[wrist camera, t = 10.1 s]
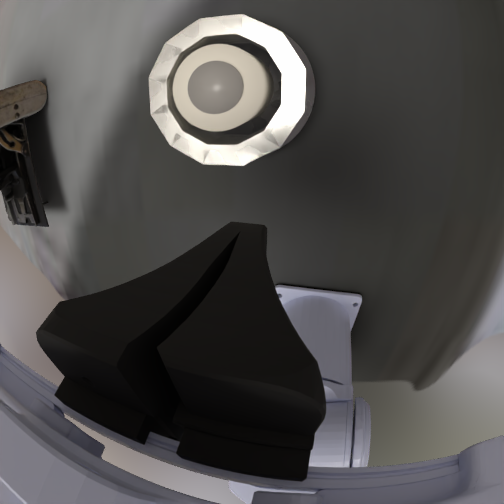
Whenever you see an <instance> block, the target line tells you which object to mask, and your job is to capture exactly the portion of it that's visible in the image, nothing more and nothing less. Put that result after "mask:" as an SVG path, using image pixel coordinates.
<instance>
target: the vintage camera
mask: <svg viewBox="0 0 504 504" xmlns="http://www.w3.org/2000/svg"><path fill="white" fill-rule="evenodd" d="M46 100H47V91H46V86H45V85H44V84H43V83H42V82H40V81H37V80H34V81H29V82H25V83H22V84H18V85H15V86H12V87H9V88H6V89H3V90H0V190H1V191H2V195H3V199H4V203H5V208H6V212H7V214H8V218H9V220H10V221H12V223H13V225H15V224H18V225H29V226H36V227H37V226H43V227H49V225H48V221H47V218H46V214H45V211H44V207H43V205H44V204H46V203H48V202H45V203H42V200H41V196H40V192H39V188H38V184H37V180H36V175H35V171H34V167H33V163H32V159H31V154H30V149H29V143H28V137H27V130H26V125H25V119H24V118H26V117H29V116H31V115H33V114H35V113H37V112H38V111H40V110H41V109H42V108H43V106H44V105H45V103H46Z"/></svg>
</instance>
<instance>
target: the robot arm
mask: <svg viewBox="0 0 504 504" xmlns="http://www.w3.org/2000/svg"><path fill="white" fill-rule="evenodd" d="M266 247H267V228H266V226H265V225H259V224H249V223H239V222H230V223H228V224H227V225H225V226H224V227H223V228H221V229H220V230H218V231H217V232H216V233H214V234H213V235H211V236H210V237H208V238H207V239H206V240H204V241H203V242H201V243H200V244H198V245H197V246H195V247H194V248H192V249H191V250H189V251H187V252H186V253H184V254H183V255H181V256H180V257H178V258H176V259H175V260H173V261H171V262H169V263H167V264H166V265H164V266H162V267H160V268H158V269H156V270H154V271H152V272H150V273H148V274H145V275H143V276H141V277H138V278H136V279H134V280H131V281H129V282H127V283H124V284H121V285H119V286H116V287H113V288H110V289H107V290H104V291H101V292H98V293H94V294H91V295H87V296H83V297H78V298H74V299H70V300H66V301H61V302H59V303H58V304H57V306H56V307H55V308H54V309H53V311H52V312H51V313H50V314H49V316H48V317H47V318H46V320H45V321H44V322H43V324H42V325H41V326H40V328H39V329H38V330H37V332H36V335H37V341H38V343H39V344H40V346H41V348H42V349H43V351H44V352H45V353H46V355H47V356H48V357H49V358H50V360H51V361H52V362H53V363H54V365H55V366H56V367H57V368H58V369H59V370H60V371H61V373H62V374H63V375H64V376H65V377H64V379H63V381H62V383H61V384H60V386H59V387H58V386H56V385H55V384H53V383H52V382H50V381H48V380H47V379H45V378H44V377H42V376H41V375H39V374H38V373H36V372H35V371H33V370H32V369H31V368H29V367H28V366H27V365H25V364H24V363H22V362H21V361H20V360H18V359H17V358H16V357H14V356H13V355H12V354H10V353H9V352H8V351H7V350H5V349H4V348H3V347H2V346H1V344H0V504H219V503H215V502H210V501H207V500H203V499H199V498H196V497H192V496H189V495H186V494H183V493H180V492H177V491H174V490H171V489H168V488H165V487H162V486H160V485H157V484H155V483H152V482H150V481H147V480H145V479H143V478H140V477H138V476H136V475H133V474H131V473H129V472H127V471H125V470H123V469H120V468H118V467H116V466H114V465H112V464H110V463H109V462H107V461H105V460H103V459H102V457H101V455H102V453H103V451H104V448H105V447H104V445H103V444H101V443H100V442H98V441H97V440H95V439H94V438H92V437H91V436H89V435H88V434H86V433H85V432H83V431H82V430H81V429H79V428H78V427H77V426H76V425H74V424H73V423H72V422H70V421H69V420H68V419H66V418H65V417H64V413H65V414H66V415H68V416H70V417H71V418H73V419H75V420H76V421H78V422H80V423H81V424H83V425H85V426H87V427H88V428H90V429H92V430H94V431H96V432H98V433H99V434H101V435H103V436H105V437H107V438H109V439H111V440H114V441H116V442H117V443H120V444H122V445H124V446H126V447H128V448H131V449H133V450H135V451H138V452H140V453H142V454H145V455H147V456H150V457H152V458H155V459H158V460H160V461H163V462H166V463H169V464H172V465H174V466H177V467H180V468H184V469H187V470H190V471H194V472H197V473H201V474H204V475H208V476H212V477H216V478H220V479H224V480H228V482H229V489H230V491H231V492H233V493H234V494H235V495H236V496H237V497H238V498H239V499H241V500H242V501H243V502H244V503H246V504H504V436H499V437H496V438H493V439H489V440H486V441H483V442H480V443H477V444H475V445H473V446H470V447H469V448H467V449H465V450H463V451H462V452H460V454H457V455H453V456H448V457H444V458H438V459H434V460H428V461H422V462H415V463H408V464H399V465H390V466H377V467H367V464H368V459H369V450H370V435H371V416H370V415H371V414H370V406H369V404H368V403H367V402H366V401H364V399H363V398H362V397H359V398H355V409H354V417H353V385H352V362H351V333H350V332H351V330H352V327H353V324H354V322H355V319H356V316H357V314H358V311H359V308H360V305H361V302H362V296H361V295H360V294H353V293H344V292H335V291H326V290H318V289H309V288H301V287H293V286H285V285H277V286H276V287H275V286H274V283H273V280H272V277H271V274H270V270H269V266H268V262H267V257H266ZM278 294H281V295H278ZM353 303H356V304H353ZM350 457H351V459H350Z"/></svg>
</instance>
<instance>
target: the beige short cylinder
mask: <svg viewBox="0 0 504 504" xmlns="http://www.w3.org/2000/svg"><path fill="white" fill-rule="evenodd" d="M273 92H274V81H273V77H272V74H271V72H270V70H269V68H268V67H267V66H266V64H265V63H264V62H263V61H261V60H260V59H259V58H257V57H255V56H253V55H252V54H250V53H248V52H246V51H244V50H242V49H240V48H238V47H235V46H232V45H227V44H212V45H207V46H204V47H202V48H199V49H197V50H195V51H194V52H192V53H191V54H190V55H188V56H187V57H186V58H185V59H184V60H183V62H182V63H181V64H180V66H179V68H178V69H177V72H176V74H175V77H174V81H173V97H174V101H175V104H176V107H177V109H178V110H179V112H180V113H181V115H182V116H183V117H184V118H185V119H186V120H187V121H188V122H189V123H191V124H192V125H194V126H196V127H198V128H200V129H203V130H207V131H216V132H217V131H226V130H230V129H233V128H235V127H237V126H239V125H241V124H243V123H245V122H247V121H249V120H251V119H253V118H255V117H257V116H258V115H260V114H261V113H262V112H263V111H264V110H265V109H266V108H267V106H268V105H269V103H270V101H271V99H272V96H273Z"/></svg>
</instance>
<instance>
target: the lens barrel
mask: <svg viewBox="0 0 504 504" xmlns="http://www.w3.org/2000/svg"><path fill="white" fill-rule="evenodd" d="M212 44H227V45H232V46H235V47H238V48H240V49H242V50H244V51H246V52H248V53H250V54H252V55H253V56H255V57H257V58H259V59H260V60H261V61H263V62H264V63H265V64H266V66H267V67H268V68H269V70H270V72H271V74H272V77H273V81H274V92H273V96H272V99H271V101H270V103H269V105H268V106H267V108H266V109H265V110H264V111H263V112H262V113H261V114H260V115H258V116H257V117H255V118H253V119H251V120H249V121H247V122H245V123H243V124H241V125H239V126H237V127H235V128H233V129H230V130H226V131H217V132H216V131H207V130H203V129H200V128H198V127H196V126H194V125H192V124H191V123H189V122H188V121H187V120H186V119H185V118H184V117H183V116H182V115H181V113H180V112H179V110H178V109H177V107H176V104H175V101H174V97H173V81H174V77H175V74H176V72H177V69H178V68H179V66H180V64H181V63H182V62H183V60H184V59H185V58H186V57H187V56H188V55H190V54H191V53H192V52H194V51H195V50H197V49H199V48H202V47H204V46H207V45H212ZM149 93H150V109H151V115H152V117H153V119H154V120H155V122H156V123H157V125H158V127H159V128H160V130H161V131H162V133H163V135H164V136H165V138H166V139H167V141H168V142H169V144H170V146H172V147H174V148H176V149H178V150H179V151H181V152H183V153H185V154H186V155H188V156H190V157H192V158H193V159H195V160H197V161H198V162H200V163H202V164H213V165H239V166H243V165H245V164H247V163H249V162H251V161H253V160H255V159H257V158H259V157H261V156H263V155H266V154H269V153H271V152H274V151H276V150H278V149H280V148H281V147H283V146H284V145H286V144H287V143H289V142H290V141H291V140H292V139H293V138H294V137H295V136H296V135H297V134H298V133H299V132H300V131H301V129H302V128H303V127H304V125H305V123H306V122H307V120H308V118H309V116H310V113H311V111H312V108H313V104H314V99H315V79H314V74H313V70H312V67H311V64H310V62H309V60H308V58H307V56H306V54H305V53H304V52H303V50H302V49H301V47H300V46H299V45H298V44H297V43H296V42H295V41H294V40H293V39H292V38H291V37H289V36H288V35H287V34H285V33H284V32H282V31H280V30H278V29H277V28H274V27H272V26H269V25H267V24H264V23H262V22H259V21H257V20H255V19H253V18H250V17H248V16H245V15H243V14H239V15H227V16H218V17H210V18H203V19H199V20H197V21H196V22H194V23H193V24H191V25H190V26H188V27H187V28H185V29H184V30H182V31H181V32H180V33H178V34H177V35H175V36H174V37H173V38H171V39H170V40H169V41H167V42H166V43H165V45H164V47H163V49H162V51H161V53H160V55H159V57H158V59H157V61H156V63H155V65H154V67H153V69H152V72H151V74H150V76H149Z"/></svg>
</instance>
